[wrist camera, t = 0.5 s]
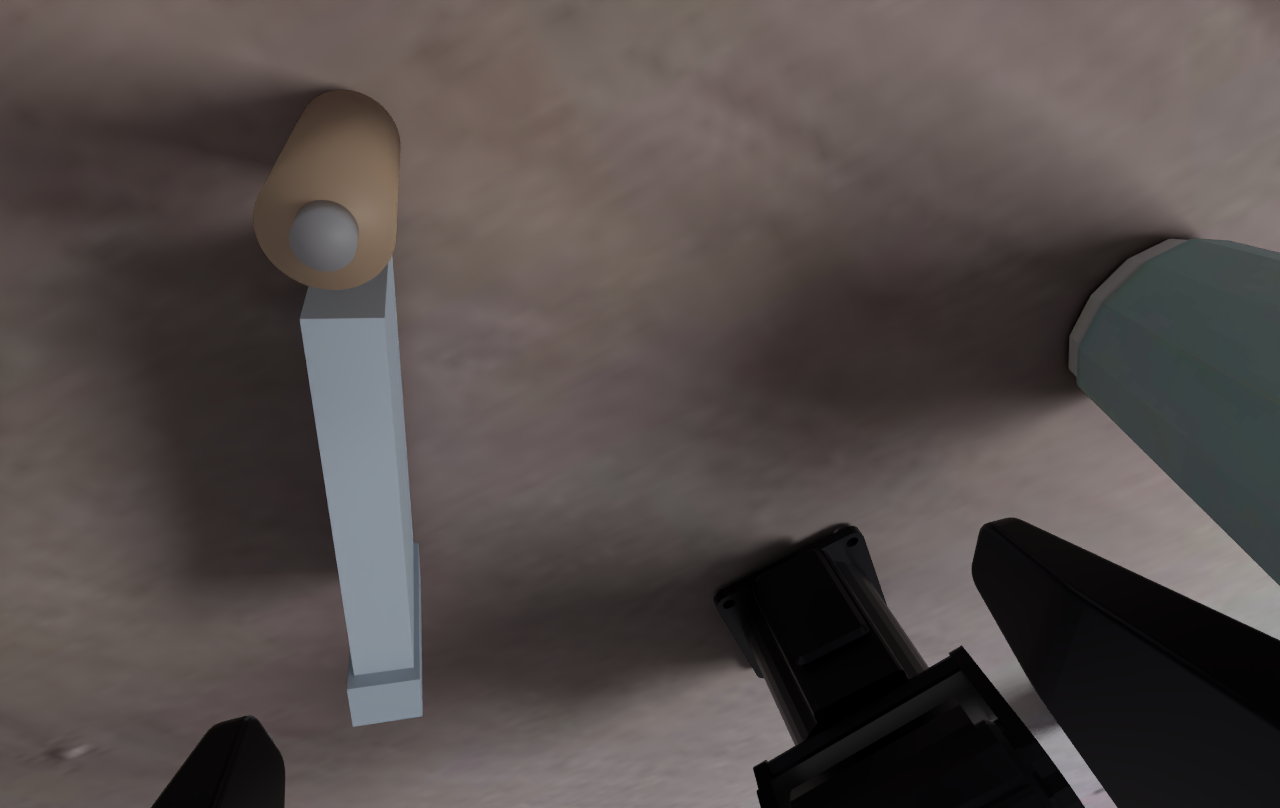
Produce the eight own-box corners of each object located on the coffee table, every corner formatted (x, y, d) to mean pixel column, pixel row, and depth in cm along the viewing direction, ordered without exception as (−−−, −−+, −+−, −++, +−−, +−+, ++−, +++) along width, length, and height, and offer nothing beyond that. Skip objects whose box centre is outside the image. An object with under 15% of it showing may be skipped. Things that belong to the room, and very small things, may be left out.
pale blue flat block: (291, 86, 16) (233, 170, 11) (397, 93, 17) (390, 176, 11) (357, 577, 24) (342, 759, 19) (426, 570, 25) (430, 744, 19)
